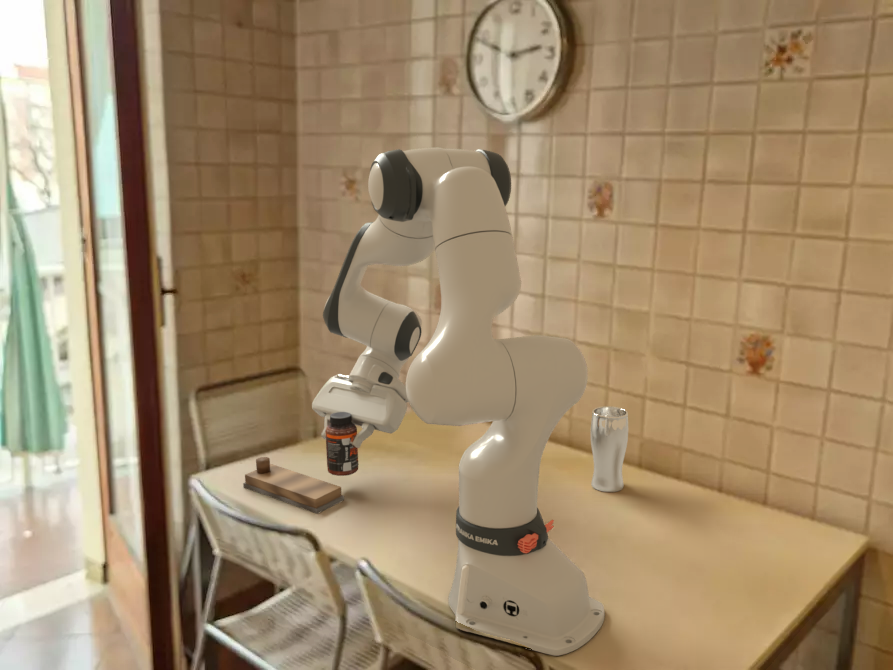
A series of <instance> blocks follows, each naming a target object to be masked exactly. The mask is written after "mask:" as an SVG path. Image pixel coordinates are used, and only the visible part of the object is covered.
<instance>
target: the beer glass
mask: <svg viewBox="0 0 893 670" xmlns="http://www.w3.org/2000/svg"><path fill="white" fill-rule="evenodd" d="M591 416H592V417H591V424H590V444H591V445H590V446H591V452H592V459H593V460H592V461H593V473H592V477H591V478H592V480H591V481H590V483H591V487H592V488H593V489H594V490H597V491H600V492H603V493H615V492H619V491H621V490H623V488H624V477H623V463H624V460H625V455H626V451H627V447H628V440H629V417H628V416H629V413H628V411H627V410H626V409H624V408H622V407H618V406H613V405H611V406H610V405H607V406H606V405H605V406H604V405H603V406H598V407H595V408H593V410H592V415H591Z"/></svg>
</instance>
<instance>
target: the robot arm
mask: <svg viewBox="0 0 893 670" xmlns="http://www.w3.org/2000/svg"><path fill="white" fill-rule="evenodd" d="M510 171H511V170H510V168H509V166H508V163H507V162H506V161H505V159H504V157H503V156H502V155H500V153H497V152H494V151H491V150H487V149H475V150H471V149H463V148H462V149H461V148H443V147H437V146H436V147H422V148H412V149H407V150H402V149H400V148H397V149H393V150H388V151H385V152H382V153H379V154H378V155H377V156H376V158H374V160H373V161H372V164H371V166H370V169H369V176H368V182H367V185H368V186H367V187H368V188H367V189H368V194H369V197H370V202H371V206H372V207H373V210H374V211H375V212H376V213H377V214H378V215H377V217H376V219H375V220H374V221H371V222H370V221H369V222H366V223H364V224H363V225H362V226H361V227H360V229H359V230H358V231H357V233H356V235H355V236H354V238H353V239H352V241H351V243H350V246H349V248H348V250H347V253H346V256H345V258H344V260H343V263H342V266H341V268H340V271H339V273H338V277H337V278H336V282H335V284H334V286H333V289H332V291H331V293H330V295H329V296H328V298H327V300H326V302H325V305H324V307H323V312H322V318H323V320H324V321H323V322H324V323H325V326H326V328H327V329H328V331H329V332H330V333H331V334H334V335H338V336H340V337H343V338H347V339H350V340H352V341H355V342H358V343H360V344H362V345H364V346H366V348H365V349H364V351H363V352H362V353H361V354H360V355H359V356H358V357H357V360H356V362H355V364H354V366H353V367H352V369H351V371H350V373H349V375H345V374H341V373H337V374H336V375H333V376H331V377H330V378H329V379H328V380H327V381H326V382H325V383H324V385H323V386H322V387H321V388H320V390H319V392H318V393H317V394H316V396H315V397H314V399H313V400H312V403H311V408H312V410H313V411H314V413H316V414H317V415H318V416H320V417H321V418H322V417H323V418H324V419H323V420H324V421H323V422H324V424H323V426H324V428H323V430H322V432H321V434H320V436H321V438H322V439H323V440H326V428H327V426H328V425H330V424H331V422H330V415H331V414H333V413H336V412H348V413H350V414H351V419H352V421H351V422H352V423H353V424H354V425H355V426H358V427H360V428H361V430H360V431H359V432H357V435H356V436H355V435H352V437H351V440H350V441H349V444H350V445H351V446H352V447H356V448H358V449H360V448H361V446H362V444H363V443H364V441H366V440H367V439H368V438H369V437H371V436H372V435H373V434H374V431H380V432H383V433H387V434H393V433H394V432H396V431H397V430H398V429H399V427H400V426H401V424H402V422H403V420H404V417H405V416H406V413H407V409H408V404H407V403H409V405H410V407H411V409H412V410H413V412H414V413H415V415H416V416H417V417H418V418H419V419H420V420H421V421H423V423H425V424H427V425H435V426H436V425H437V426H438V425H439V426H449V427H451V426H452V427H456V426H457V427H461V426H468V425H474V424H481V423H482V424H484V423H489V422H492V423H491V425H490V426H489V427H488V429H487V430H486V431H485V433H484V434H483V435H482V436H480V438H478V439H476V440H475V441H474V442H473V443H471V444H470V445H469V446H468V447H467V448H466V449H465V450H464V452H463V454H462V456H461V458H460V460H459V465H458V504H459V505H458V507H457V508H456V511H455V535H456V538H457V539H458V540H457V541H458V544H457V545H458V546H457V554H456V555H457V557H456V564H455V571H454V576H453V581H452V583H451V584H452V585H451V589H450V591H449V594H448V598H447V599H448V605H449V607H450V609H451V610H452V612H453V614H454V616H455V619H454V622H455V621H457V622H458V623H461V624H463V625H465V626H467V627H470V628H472V629H474V630H476V631H480V632H483V633H486V634H490V635H493V636H497V637H502V638H506V639H510V640H513V641H515V642H518V643H520V644H522V645H525V646H527V647H529V648H531V649H532V650H531V649H530V650H531V651H535V652H539V653H543V654H546V655H550V656H554V657H555V656H556V657H557V656H562V655H566V654H569V653H571V652H573V651H576V650H578V649H579V648H581V647H582V646H584V645H585V644H586V643H588V642H589V641H591V639H592V638H593V637H594V636H595V635H596V634H597V632H599V630H600V629H601V628H602V625H603V624H604V621H605V616H606V615H605V607H604V603H602V602H601V601H599V600H598V599H595V598H593V597H591V596H589V595H590V594H589V589H588V587H589V586H588V583H587V578H586V576H585V573H584V572H583V570H582V569H580V568H579V566H578V565H576V564H575V563H574V562H573V561H572V560H571V559H570V558H569V557H568V556H567V555H566V554H565V553H564V552H563V551H562V550H561V548H559V547H558V546H557V545H556V543H554V542H553V541H552V540H551V539H550V538H549V533H548V532H550V531H551V530H552V529H553V528H554V527H555V526H554V525H553V524H554V521H555V519H551V520H550V521H548V523H546V524H545V522H544V519H543V517H542V514H541V512H540V509H539V507H538V495H539V494H538V493H539V489H538V488H539V478H540V467H541V462H542V461H541V460H542V457H543V453H544V451H545V447H546V446H547V444H548V441H549V439H550V436H551V435H552V433H553V431H554V429H555V428H556V426H557V425H558V423H559V422H560V420H561V419H562V418H563V417H564V415H565V414H566V413H567V412H568V411H569V410H571V408H572V407H573V406H575V405H576V404H577V403H578V402H580V400H581V399H582V397H583V395H584V393H585V391H586V389H587V384H588V379H589V376H588V375H589V373H588V371H589V370H588V369H589V368H588V365H587V362H586V361H587V360H586V358H585V356H584V354H583V352H582V350H581V349H580V348H579V347H578V345H576V343H575V342H574V341H573V340H571V339H570V338H567V337H559V336H549V335H540V334H536V335H525V336H517V337H507V338H498V339H496V338H494V336H493V320H494V318H496V317H497V316H499V315H500V314H502V313H503V312H505V311H506V310H507V309H508V308H509V307H511V306H512V305H513V304H514V303H515V302H516V301H517V299H518V297H519V295H520V291H521V287H522V280H521V278H522V277H521V273H520V269H519V263H518V258H517V253H516V247H515V243H514V237H513V233H512V232H513V231H512V228H511V224H510V219H509V216H508V213H507V209H506V206H507V204H508V203H509V201H510V197H511V194H512V193H511V192H512V176H511V175H512V174H511V172H510ZM434 252H435V258H436V263H437V264H436V265H437V271H438V277H439V278H438V279H439V286H440V288H439V289H440V299H441V300H440V313H439V318H438V322H437V325H436V327H435V329H434V330H435V331H434V332H433V334H432V336H431V338H430V339H429V341H428V343H427V344H426V345H425V346H424V348H423V349H421V351H419V353H418V354H417V355H416V356H415V357H414V358H413V360H412V361H411V363H410V366H409V368H408V371H407V373H406V379H405V384H404V383H403V381H402V380H401V379H399V378H400V376H401V370H402V368H403V366H404V365H405V363H407V362H408V360H409V358H410V357H412V356H413V354H414V352H415V350H416V348H417V346H418V344H419V342H420V340H421V336H422V323H423V321H422V318H421V316H420V315H419V313H418V312H417V311H416V310H415V309H414V308H412V307H410V306H408V305H406V304H401V303H396V302H394V301H392V300H389V299H386V298H384V297H381V296H380V295H376V294H374V293H372V292H370V291H368V290H366V289H365V288H364V286H362V285H361V284H362V281H363V278H364V277H365V273H366V271H367V269H368V267H369V266H370V265H371V266H372V265H385V266H394V267H407V266H412V265H415V264H416V265H417V264H418V263H421V262H423V261H424V260H426V259H427V258H429V257H431V255H432V254H433V253H434Z"/></svg>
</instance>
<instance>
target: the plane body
mask: <svg viewBox="0 0 893 670" xmlns="http://www.w3.org/2000/svg"><path fill="white" fill-rule="evenodd" d="M255 463H256V466H255V467H256V470H255V469H254V470H253V471H250V472H248V473H246V474H244V482H243V483H242V485H243V488H244V489H248V490H251V491H253V492H256V493H259V494H262V495H265V496H267V497H269V498H272V499H276V500H278V501H281V502H284V503H286V504H289V505H291V506H295V507H297V508H299V509H300V508H301V509H303V510H306V511H308V512H311V513H314V514H319V513H321V512H324V511H325V510H327V509H329V508H331V507H333V506H335V505H337V504H339V503H341V502H343V501H344V500H345V496H344V495H342V486H339V485H336V484H333V483H332V482H327V481H325V480H321V479H318V478H315V477H312V476H309V475H306V474H303V473H300V472H297V471H294V470H291V469H287V468H284V467H282V466H280V465H277V464H276V465H275V464H272V463H271V459H270V458H269V457H268V456H261V457H257V458H256V459H255Z"/></svg>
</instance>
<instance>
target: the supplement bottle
mask: <svg viewBox="0 0 893 670" xmlns="http://www.w3.org/2000/svg"><path fill="white" fill-rule="evenodd" d="M351 421H352V419H351V414H350V413H348V412H336V413H333V414H331V415H330V422H331V424H330V425H328V426H327V428H326V439H325V447H326V449H325V451H326V467H327V472H328V473H329V474H330V475H332V476H336V477H337V476H338V477H341V476H342V477H343V476H351V475H353V474H355V473H356V472H358V470H359V448H356V447H352V446H351V445H350V444H349V441H350V440H351V437H352V435H355V436H356V435H357V434H358V427H357V425H354V424H353V423H352V422H351Z"/></svg>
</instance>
